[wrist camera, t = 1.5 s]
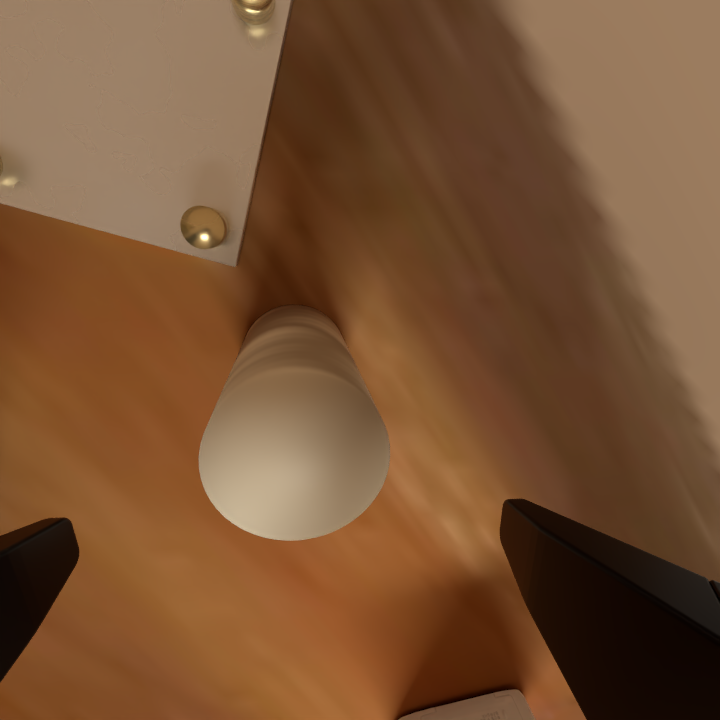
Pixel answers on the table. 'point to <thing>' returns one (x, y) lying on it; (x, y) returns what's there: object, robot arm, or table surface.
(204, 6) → the base plate
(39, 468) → the table surface
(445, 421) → the table surface
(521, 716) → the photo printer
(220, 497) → the maple peg
